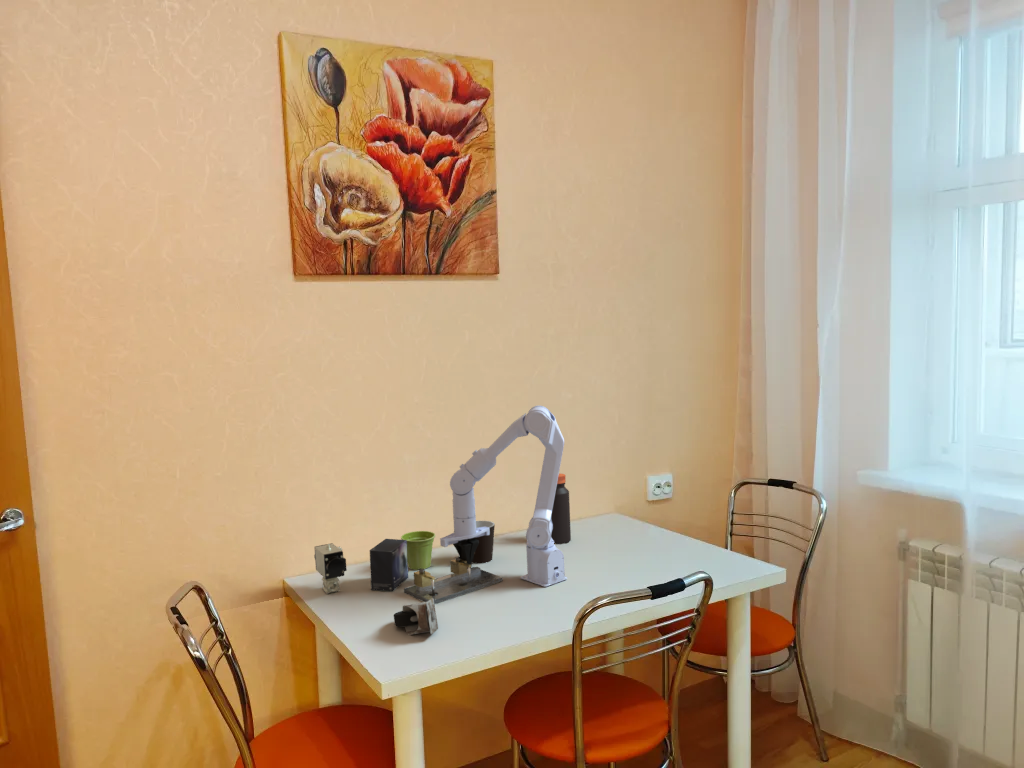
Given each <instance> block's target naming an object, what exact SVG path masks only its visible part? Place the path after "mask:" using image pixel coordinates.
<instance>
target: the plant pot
mask: <svg viewBox="0 0 1024 768" xmlns="http://www.w3.org/2000/svg"><path fill="white" fill-rule="evenodd" d="M435 538H436V533H435V532H433V531H428V530H415V531H410V532H409V531H408V532H406V533H404V534H402V535H401V536H400V540H407V562H408V569H410V570H414V569H415V571H417V570H418V571H419V569H425V570H426V569H428V568H430V567H431V564H432V556H433V555H432V553H433V545H434V544H433V543H434V540H435Z"/></svg>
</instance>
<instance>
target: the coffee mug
mask: <svg viewBox="0 0 1024 768" xmlns="http://www.w3.org/2000/svg"><path fill="white" fill-rule="evenodd" d="M495 524H496V523H495V522H493V521H490V520H476V528H479V527H484V526H485V527H489V528H490V535H484V536H480V537H476V539H477V540H479V545H478V546H477V548H476V551H475V553H474V557H473V561H472V562H473V563H472V564H487V563H490V562H492V561H493V555H494V554H493V552H494V538H495V526H496V525H495ZM491 560H492V561H491ZM486 562H487V563H486Z"/></svg>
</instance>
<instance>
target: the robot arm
mask: <svg viewBox="0 0 1024 768" xmlns="http://www.w3.org/2000/svg"><path fill="white" fill-rule="evenodd" d="M529 434H531V435H533V436H534V437H535V438H537V439H538V440H539V442H540V443H541V444H542V445H543V446H544V449H545V450H544V454H543V460H542V461H543V462H542V466H541V467H542V468H541V471H540V479H539V482H538V483H539V484H538V487H537V494H536V500H535V507H534V510H533V516H532V517H531V519H530V520H529V522H528V528H527V529H526V533H525V538H526V542H525V544H526V545H525V547H526V567H527V568H526V569H527V574H523V575H521V576H520V577H519V578H520V579H521V580H524V581H527V582H530V583H533V584H535V585H537V586H542V587H545V588H546V587H549V586H551V585H555V584H557V583H560V582H563V581H566V580H568V577H567V576H565V574H566V573H565V556H564V553H563V551H562V550H561V549H559V548H558V547H557V546H556V545H555V544H554V540H553V539H552V538H551V532H552V529H553V524H552V521H551V514H552V509H553V503H554V498H555V492H556V486H557V481H558V475H559V474H560V469H561V464H562V458H563V452H564V446H565V438H564V436H563V433H562V432H561V429H560V426H559V424H558V422H557V419H556V416H555V415H554V414H553V413H552V412H551V410H549V409H548V408H547V407H546V406H543V405H535V406H532V407H531V408H530V409H529V411H528V412H525V413H523V414H522V415H521V416H520V417H518V418H517V419H516V420H514V421H513V422H512V423H511V424H510V425H509V426H508V427H507V428H506V429H505V430H504V431H503V432H502V433H501V435H500V436H498V438H496V440H495V441H494V442H492V444H490V446H489V447H486V448H485V447H481V448H479V449H478V450H477V449H475V450H474V451H473V452H472V453H471V455H472V456H471V457H470V458H469V459H468V460H467V461H466V462H465V463H461V464H460V465H459V468H460V469H458V470H457V471H456V472H454V473H453V475H452V476H451V478H450V481H449V487H450V489H451V490H452V513H453V514H452V515H453V532H452V533H449V534H448V535H446V536H443V537H441V538H439V541H440V543H439V544H440V546H441V547H444V548H447V547H449V546H451V545H453V547H454V548H455V550H456V552H457V553H458V557H461V559H462V560H465V561H467V563H468V564H471V567H470V568H472V567H473V566H472V565H473V563H472V561H473V557H474V553H475V551H476V548H477V546H478V545H479V540H477V539H476V537H480V536H484V535H490V528H489V527H485V526H484V527H479V528H476V521H477V520H476V517H477V516H476V498H475V489H474V486H475V485H476V482H479V481H481V480H482V479H483V478H484V477H485V476H486V475H487V474H488V473H489V472H490V471H491V470H492V469H493V468H494V467H495V466H496V465H497V457H498V456H499V455H500V454H501V453H502V452H504V450H505V449H507V448H508V447H509V446H510V445H511V444H512V443H513V442H514V441H515V440H516V439H518V438H521V437H527V436H529ZM467 569H468V567H467Z"/></svg>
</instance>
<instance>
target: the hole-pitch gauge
mask: <svg viewBox="0 0 1024 768" xmlns="http://www.w3.org/2000/svg"><path fill="white" fill-rule="evenodd" d="M470 570H471V580H470V581H469V578H468V569H467V573H464V574H461V575H457V574H455V573H450V574H446V575H443V576H441V577H437V578H436V577H435V576H433V575H432V574H431V573H432V572H429V571H426V569H418V571H417V570H416V571H415V572H413V584H414V585H411V586H409V587H406V588H404V589H403V593H404V594H406V595H408V596H410V597H413V598H415V599H417V600H419V601H421V602H428V601H429V600H430V599H432V598H433V599H434V605H437V604H439V603H441V602H445V601H448V600H451V599H454V598H456V597H457V598H458V597H460V596H462V595H466V594H469V593H471V592H475V591H478V590H480V589H484V588H486V587H490V586H492V585H495V584H499V583H501V582H504V580H503V579H504V577H502V576H499V575H498V574H495V573H491V572H489V571H487V570H483V569H481V567H479V566H471V568H470Z"/></svg>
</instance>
